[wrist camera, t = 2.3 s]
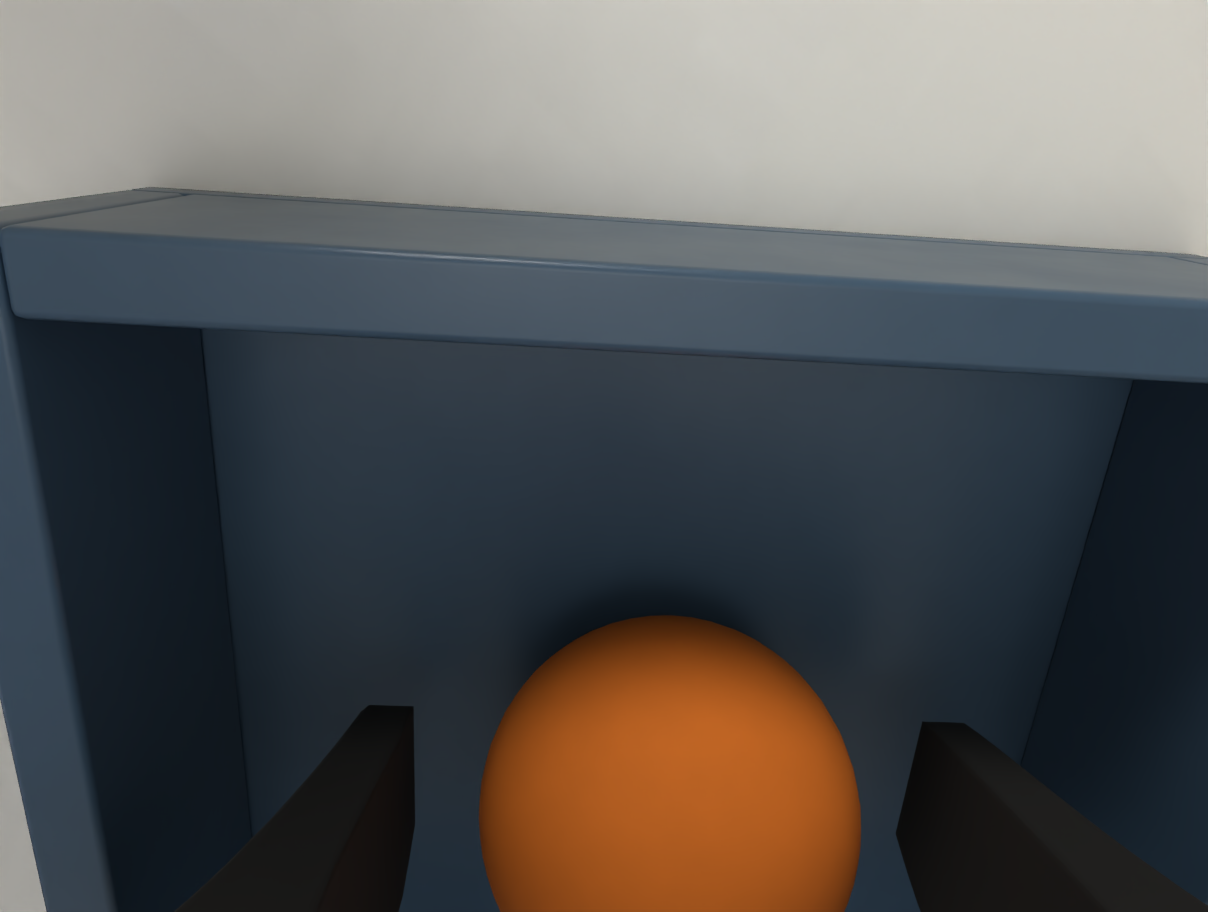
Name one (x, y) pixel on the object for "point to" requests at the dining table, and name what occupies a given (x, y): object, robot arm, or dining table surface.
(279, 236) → the tray
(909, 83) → the dining table surface
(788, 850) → the ball
